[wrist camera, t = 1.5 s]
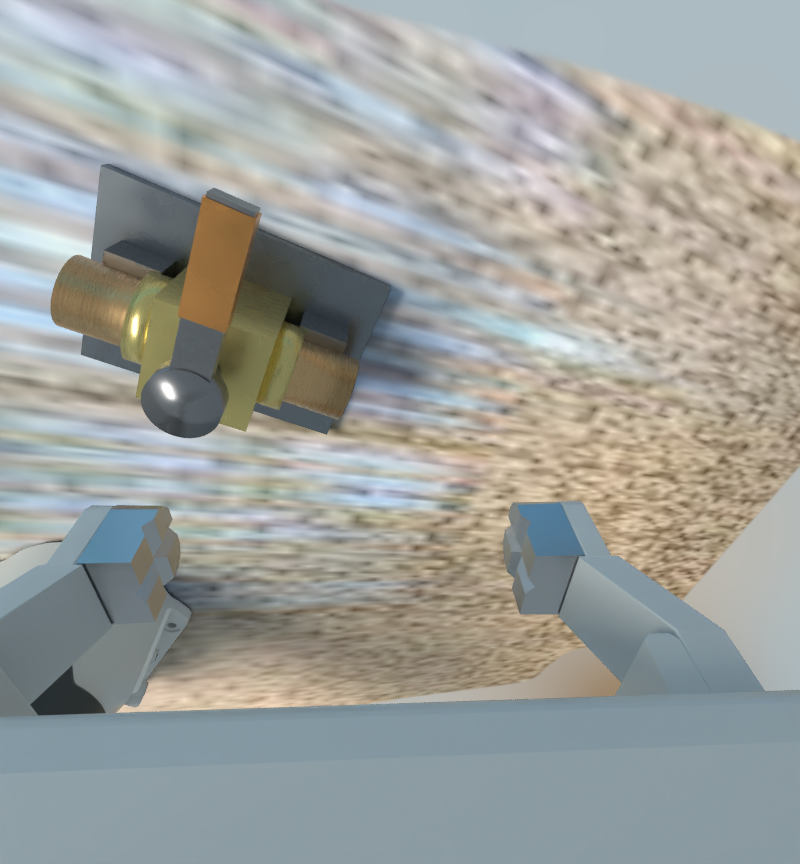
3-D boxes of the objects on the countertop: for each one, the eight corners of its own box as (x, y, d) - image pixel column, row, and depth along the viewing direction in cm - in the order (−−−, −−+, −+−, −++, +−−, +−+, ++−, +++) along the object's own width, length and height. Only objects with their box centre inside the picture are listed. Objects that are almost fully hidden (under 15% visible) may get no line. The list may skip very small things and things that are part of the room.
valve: (327, 428, 37) (317, 516, 29) (86, 349, 33) (-3, 428, 25) (390, 285, 32) (398, 346, 24) (107, 163, 27) (-2, 189, 19)
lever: (219, 431, 25) (212, 447, 24) (146, 408, 24) (135, 424, 23) (283, 216, 20) (277, 223, 19) (191, 176, 19) (180, 181, 18)
